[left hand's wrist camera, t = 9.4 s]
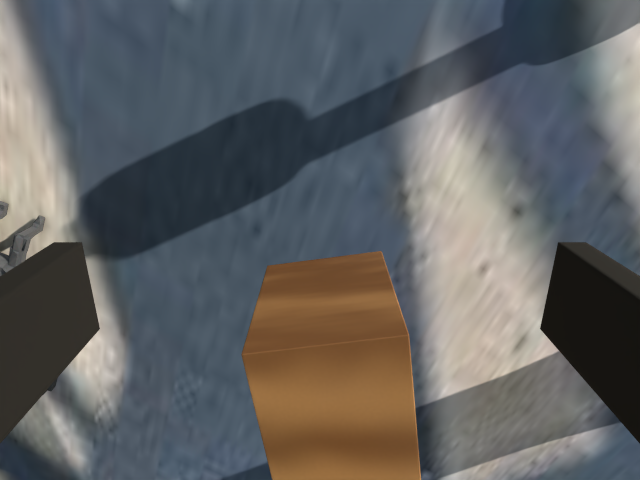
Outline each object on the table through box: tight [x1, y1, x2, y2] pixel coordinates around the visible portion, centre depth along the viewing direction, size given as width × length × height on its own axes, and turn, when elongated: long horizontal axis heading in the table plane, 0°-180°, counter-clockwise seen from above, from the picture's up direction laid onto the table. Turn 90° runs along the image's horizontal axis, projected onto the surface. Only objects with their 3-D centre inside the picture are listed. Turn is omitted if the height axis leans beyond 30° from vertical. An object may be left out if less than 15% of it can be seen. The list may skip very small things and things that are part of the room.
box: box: [242, 251, 421, 480], centre depth 31 cm, size 24×8×11 cm, turn 8°
